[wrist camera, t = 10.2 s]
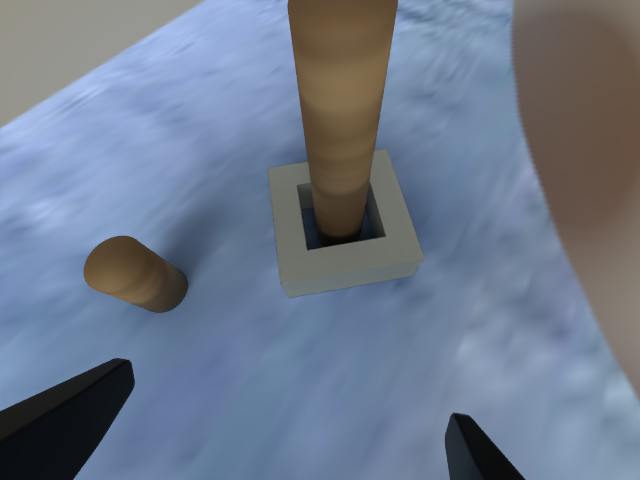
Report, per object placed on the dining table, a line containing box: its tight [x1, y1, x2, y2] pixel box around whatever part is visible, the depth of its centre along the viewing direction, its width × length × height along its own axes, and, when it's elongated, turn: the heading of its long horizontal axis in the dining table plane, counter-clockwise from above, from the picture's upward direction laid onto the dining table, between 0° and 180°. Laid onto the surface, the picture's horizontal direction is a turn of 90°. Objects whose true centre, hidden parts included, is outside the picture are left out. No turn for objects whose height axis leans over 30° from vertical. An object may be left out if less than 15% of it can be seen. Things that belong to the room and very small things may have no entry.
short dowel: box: [84, 236, 188, 313], centre depth 17 cm, size 3×3×5 cm
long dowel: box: [288, 0, 398, 247], centre depth 15 cm, size 3×3×14 cm
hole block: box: [268, 149, 424, 298], centre depth 20 cm, size 8×8×3 cm
